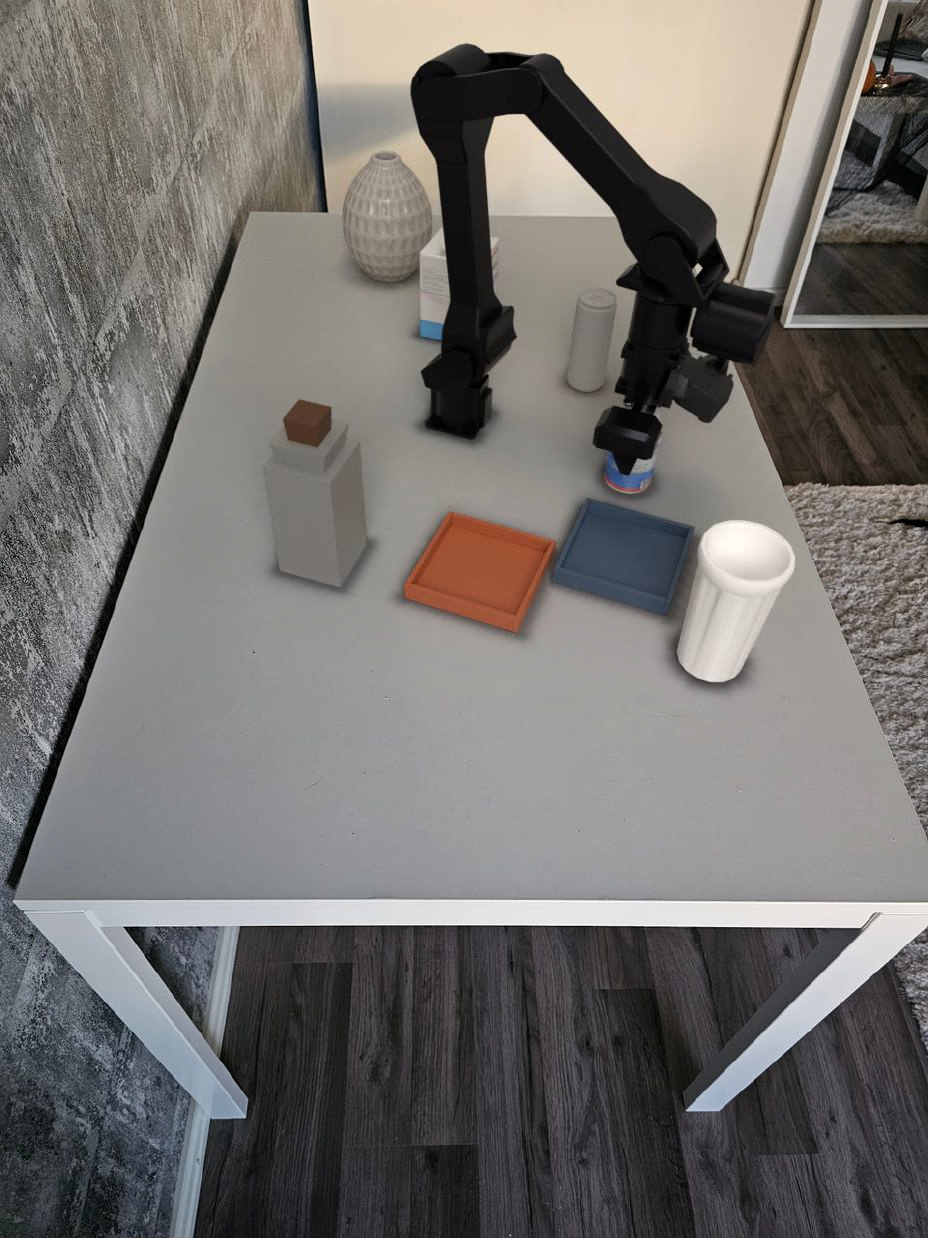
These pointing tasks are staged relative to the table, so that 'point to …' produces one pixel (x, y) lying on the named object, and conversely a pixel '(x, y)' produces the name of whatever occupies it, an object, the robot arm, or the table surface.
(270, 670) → the table surface
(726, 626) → the cup
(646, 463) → the pill bottle
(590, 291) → the beverage can
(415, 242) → the vase
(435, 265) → the ink box
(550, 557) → the terracotta tray
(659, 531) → the slate tray
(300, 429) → the perfume bottle
